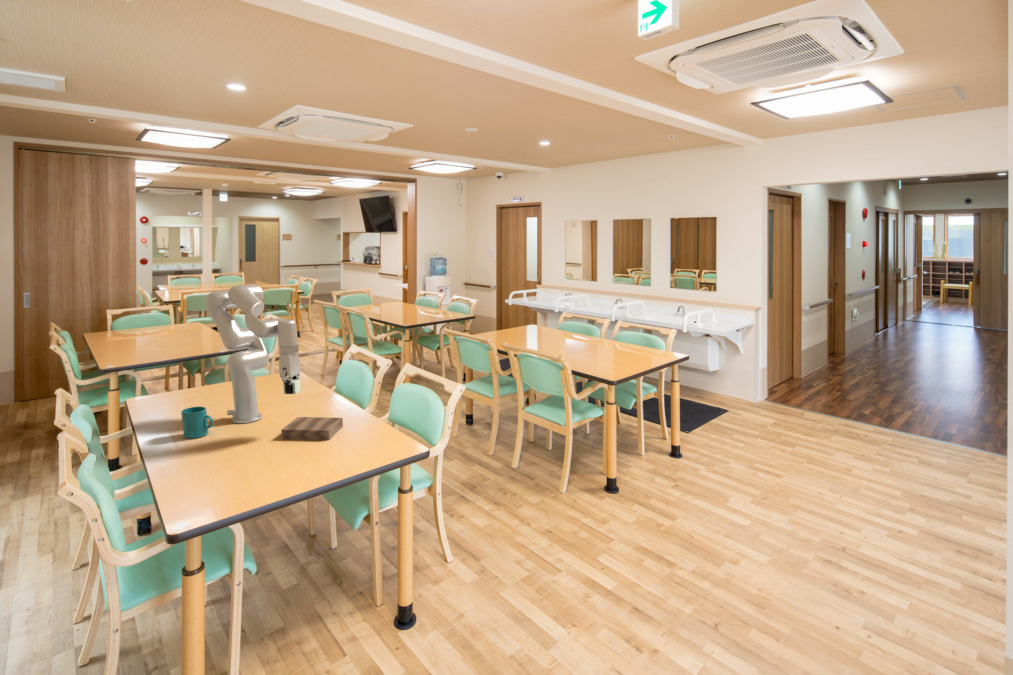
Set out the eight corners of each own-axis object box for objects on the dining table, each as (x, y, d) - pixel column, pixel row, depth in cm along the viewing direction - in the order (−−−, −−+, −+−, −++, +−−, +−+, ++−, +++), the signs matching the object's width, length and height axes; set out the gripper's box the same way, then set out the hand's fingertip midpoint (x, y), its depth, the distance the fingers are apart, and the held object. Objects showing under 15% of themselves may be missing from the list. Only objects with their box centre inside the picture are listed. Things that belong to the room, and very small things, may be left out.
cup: (208, 439, 220) (206, 413, 218) (179, 439, 220) (176, 413, 218) (220, 431, 229) (217, 406, 227) (191, 431, 229) (189, 406, 227)
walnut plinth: (281, 438, 221) (281, 429, 220) (298, 425, 236) (297, 416, 236) (329, 439, 220) (328, 430, 219) (342, 426, 235) (342, 417, 235)
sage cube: (284, 394, 223) (283, 382, 222) (289, 390, 228) (288, 379, 227) (295, 394, 222) (294, 382, 221) (301, 390, 227) (300, 379, 226)
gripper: (289, 345, 230) (293, 386, 233) (269, 353, 214) (274, 397, 217) (306, 345, 230) (309, 386, 233) (288, 353, 213) (292, 397, 216)
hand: (292, 391), depth 225 cm, fingers closed on sage cube, 5 cm apart
